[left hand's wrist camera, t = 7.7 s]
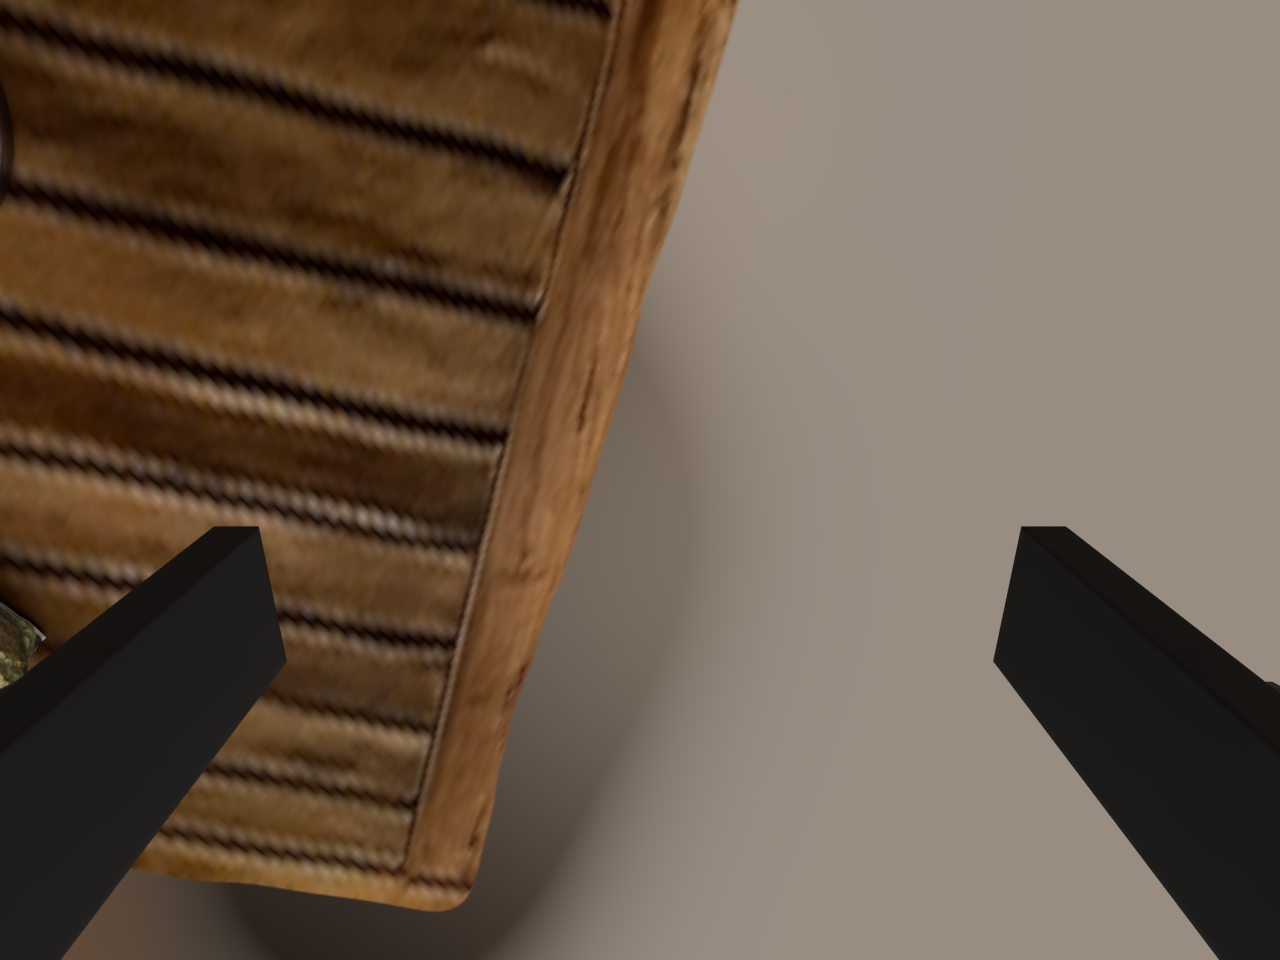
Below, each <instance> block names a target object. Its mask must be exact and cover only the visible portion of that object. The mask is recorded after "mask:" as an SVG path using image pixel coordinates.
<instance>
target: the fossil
mask: <svg viewBox="0 0 1280 960" xmlns="http://www.w3.org/2000/svg"><path fill="white" fill-rule="evenodd" d="M45 638H46V637H45V636H44V635H43V634H42V633H41V632H40V631H39V630H38V629H37V628H36V627H35V626H34V625H32V624H31V623H30V622H29V621H27V620H26V619H24V618H22V617H20V616H19V615H18V614H16V613H15V612H14V611H12V610H11V609H10V608H8V607H7V606H5V605H4V604H3V603H1V602H0V689H1V688H3V687H5V686H7V685H9V684H13V683H14V682H15V681H16V680H18V679H19V678H20V677H22V676H23V675H24V674H25V673H27V659H28V658H29V657H30V656H31V655H33V653H34V651H35V650H36V648H37V646H38V644H39V643H40V642H41V641H43V640H44V639H45Z"/></svg>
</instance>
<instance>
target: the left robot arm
mask: <svg viewBox="0 0 1280 960" xmlns="http://www.w3.org/2000/svg"><path fill="white" fill-rule="evenodd" d="M12 164H13V136H12V129H11V122H10V118H9V113H8V109H7V105H6V102H5V99H4V96H3V93H2V90H1V88H0V204H1V202H2V200H3V198H4V195H5V193H6V190H7V188H8V184H9V181H10V177H11V171H12ZM993 661H994V663H995V664H996V666H997V667H998V668H999V670H1000V671H1001V672H1002V674H1003V675H1004V676H1005V677H1006V679H1007V680H1008V681H1009V683H1010V684H1011V685H1012V687H1013V688H1014V689H1015V691H1016V692H1017V693H1018V695H1019V696H1020V697H1021V699H1022V700H1023V701H1024V703H1025V704H1026V705H1027V706H1028V708H1029V709H1030V710H1031V712H1032V713H1033V714H1034V716H1035V717H1036V718H1037V720H1038V721H1039V722H1040V724H1041V725H1042V726H1043V728H1044V729H1045V730H1046V732H1047V733H1048V734H1049V736H1050V737H1051V738H1052V740H1053V741H1054V742H1055V744H1056V745H1057V746H1058V748H1059V749H1060V750H1061V751H1062V753H1063V754H1064V755H1065V757H1066V758H1067V759H1068V761H1069V762H1070V763H1071V765H1072V766H1073V767H1074V769H1075V770H1076V771H1077V773H1078V774H1079V775H1080V777H1081V778H1082V779H1083V780H1084V782H1085V783H1086V785H1087V786H1088V787H1089V788H1090V790H1091V791H1092V792H1093V794H1094V795H1095V796H1096V798H1097V799H1098V800H1099V802H1100V803H1101V804H1102V806H1103V807H1104V808H1105V810H1106V811H1107V812H1108V814H1109V815H1110V816H1111V818H1112V819H1113V820H1114V822H1115V823H1116V824H1117V825H1118V827H1119V828H1120V829H1121V831H1122V832H1123V833H1124V835H1125V836H1126V837H1127V839H1128V840H1129V841H1130V843H1131V844H1132V845H1133V847H1134V848H1135V849H1136V851H1137V852H1138V853H1139V855H1140V856H1141V857H1142V858H1143V860H1144V861H1145V862H1146V864H1147V865H1148V866H1149V868H1150V869H1151V870H1152V872H1153V873H1154V874H1155V876H1156V877H1157V878H1158V880H1159V881H1160V882H1161V884H1162V885H1163V886H1164V888H1165V889H1166V890H1167V892H1168V893H1169V894H1170V895H1171V897H1172V898H1173V899H1174V901H1175V902H1176V903H1177V905H1178V906H1179V907H1180V909H1181V910H1182V911H1183V913H1184V914H1185V915H1186V917H1187V918H1188V919H1189V921H1190V922H1191V923H1192V924H1193V926H1194V927H1195V929H1196V930H1197V931H1198V932H1199V934H1200V935H1201V936H1202V938H1203V939H1204V940H1205V942H1206V943H1207V944H1208V946H1209V947H1210V948H1211V950H1212V951H1213V952H1214V954H1215V955H1216V956H1217V958H1218V959H1219V960H1280V686H1279V685H1277V684H1275V683H1273V682H1265V681H1263V680H1262V679H1261V678H1260V677H1258V676H1257V675H1256V674H1255V673H1253V672H1252V671H1251V670H1249V669H1248V668H1247V667H1245V666H1244V665H1243V664H1242V663H1240V662H1239V661H1238V660H1237V659H1235V658H1234V657H1233V656H1231V655H1230V654H1229V653H1227V652H1226V651H1225V650H1224V649H1222V648H1221V647H1220V646H1219V645H1217V644H1216V643H1215V642H1213V641H1212V640H1211V639H1210V638H1208V637H1207V636H1206V635H1204V634H1203V633H1202V632H1201V631H1199V630H1198V629H1197V628H1195V627H1194V626H1193V625H1192V624H1190V623H1189V622H1188V621H1187V620H1185V619H1184V618H1183V617H1181V616H1180V615H1179V614H1178V613H1176V612H1175V611H1174V610H1172V609H1171V608H1170V607H1168V606H1167V605H1166V604H1165V603H1163V602H1162V601H1161V600H1160V599H1158V598H1157V597H1156V596H1154V595H1153V594H1152V593H1151V592H1149V591H1148V590H1147V589H1145V588H1144V587H1143V586H1142V585H1140V584H1139V583H1138V582H1136V581H1135V580H1134V579H1133V578H1131V577H1130V576H1129V575H1127V574H1126V573H1125V572H1124V571H1122V570H1121V569H1120V568H1119V567H1117V566H1116V565H1115V564H1113V563H1112V562H1111V561H1110V560H1108V559H1107V558H1106V557H1104V556H1103V555H1102V554H1101V553H1099V552H1098V551H1097V550H1095V549H1094V548H1093V547H1092V546H1090V545H1089V544H1088V543H1086V542H1085V541H1084V540H1083V539H1081V538H1080V537H1079V536H1077V535H1076V534H1075V533H1074V532H1072V531H1071V530H1070V529H1068V528H1067V527H1065V526H1061V527H1060V526H1053V527H1052V526H1051V527H1049V526H1031V527H1030V526H1022V527H1021V531H1020V535H1019V540H1018V545H1017V550H1016V555H1015V559H1014V564H1013V569H1012V574H1011V579H1010V583H1009V588H1008V593H1007V598H1006V602H1005V607H1004V612H1003V617H1002V622H1001V626H1000V631H999V636H998V641H997V646H996V650H995V655H994V660H993ZM286 662H287V660H286V655H285V650H284V646H283V641H282V636H281V631H280V626H279V622H278V617H277V612H276V607H275V602H274V598H273V593H272V588H271V583H270V579H269V574H268V569H267V564H266V559H265V555H264V550H263V545H262V540H261V535H260V531H259V526H214V527H213V528H212V529H210V530H209V531H208V532H206V533H205V534H204V535H203V536H201V537H200V538H199V539H197V540H196V541H195V542H194V543H192V544H191V545H190V546H188V547H187V548H186V549H185V550H183V551H182V552H181V553H179V554H178V555H177V556H176V557H174V558H173V559H172V560H170V561H169V562H168V563H167V564H165V565H164V566H163V567H161V568H160V569H159V570H158V571H156V572H155V573H154V574H153V575H151V576H150V577H149V578H147V579H146V580H145V581H144V582H142V583H141V584H140V585H138V586H137V587H136V588H135V589H133V590H132V591H131V592H129V593H128V594H127V595H126V596H124V597H123V598H122V599H120V600H119V601H118V602H117V603H115V604H114V605H113V606H111V607H110V608H109V609H108V610H106V611H105V612H104V613H102V614H101V615H100V616H99V617H97V618H96V619H95V620H93V621H92V622H91V623H90V624H88V625H87V626H86V627H84V628H83V629H82V630H81V631H79V632H78V633H77V634H76V635H74V636H73V637H72V638H70V639H69V640H68V641H67V642H65V643H64V644H63V645H61V646H60V647H59V648H58V649H56V650H55V651H54V652H52V653H51V654H50V655H49V656H47V657H46V658H45V659H43V660H42V661H41V662H40V663H38V664H37V665H36V666H34V667H33V668H32V669H31V670H29V671H28V672H27V673H25V674H24V675H23V676H22V677H20V678H19V679H18V680H16V681H15V682H14V683H13V684H9V685H7V686H5V687H3V688H1V689H0V960H61V959H62V958H63V956H64V955H65V954H66V952H67V951H68V950H69V948H70V947H71V946H72V944H73V943H74V942H75V940H76V939H77V938H78V936H79V935H80V934H81V932H82V931H83V930H84V929H85V927H86V926H87V925H88V923H89V922H90V921H91V919H92V918H93V917H94V915H95V914H96V913H97V911H98V910H99V909H100V907H101V906H102V905H103V903H104V902H105V901H106V899H107V898H108V897H109V895H110V894H111V893H112V891H113V890H114V889H115V888H116V886H117V885H118V884H119V882H120V881H121V880H122V878H123V877H124V876H125V874H126V873H127V872H128V870H129V869H130V868H131V866H132V865H133V864H134V862H135V861H136V860H137V859H138V857H139V856H140V855H141V853H142V852H143V851H144V849H145V848H146V847H147V845H148V844H149V843H150V841H151V840H152V839H153V837H154V836H155V835H156V833H157V832H158V831H159V829H160V828H161V827H162V825H163V824H164V823H165V822H166V820H167V819H168V818H169V816H170V815H171V814H172V812H173V811H174V810H175V808H176V807H177V806H178V804H179V803H180V802H181V800H182V799H183V798H184V796H185V795H186V794H187V792H188V791H189V790H190V788H191V787H192V786H193V785H194V783H195V782H196V781H197V779H198V778H199V777H200V775H201V774H202V773H203V771H204V770H205V769H206V767H207V766H208V765H209V763H210V762H211V761H212V759H213V758H214V757H215V755H216V754H217V753H218V751H219V750H220V749H221V748H222V746H223V745H224V744H225V742H226V741H227V740H228V738H229V737H230V736H231V734H232V733H233V732H234V730H235V729H236V728H237V726H238V725H239V724H240V722H241V721H242V720H243V718H244V717H245V716H246V714H247V713H248V712H249V711H250V709H251V708H252V707H253V705H254V704H255V703H256V701H257V700H258V699H259V697H260V696H261V695H262V693H263V692H264V691H265V689H266V688H267V687H268V685H269V684H270V683H271V681H272V680H273V679H274V678H275V676H276V675H277V674H278V672H279V671H280V670H281V668H282V667H283V666H284V664H285V663H286Z"/></svg>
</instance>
